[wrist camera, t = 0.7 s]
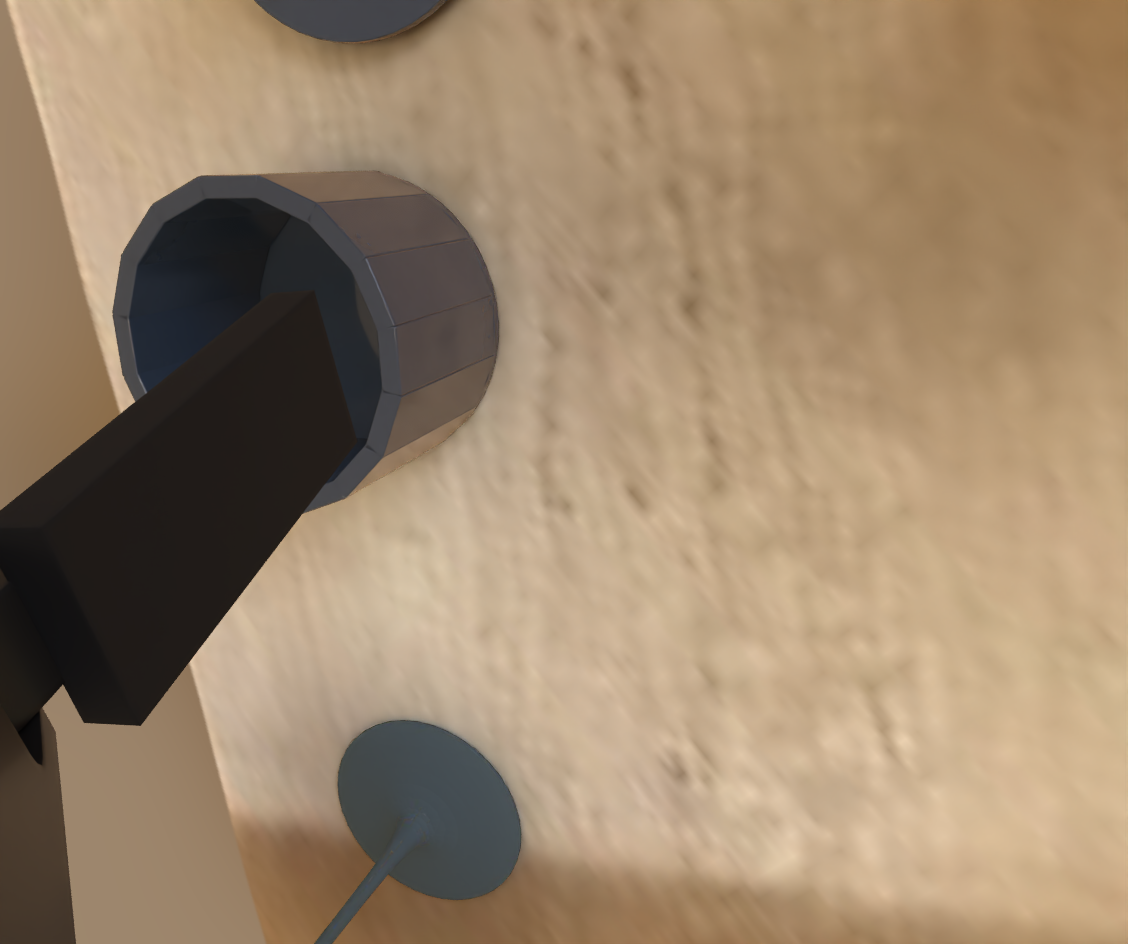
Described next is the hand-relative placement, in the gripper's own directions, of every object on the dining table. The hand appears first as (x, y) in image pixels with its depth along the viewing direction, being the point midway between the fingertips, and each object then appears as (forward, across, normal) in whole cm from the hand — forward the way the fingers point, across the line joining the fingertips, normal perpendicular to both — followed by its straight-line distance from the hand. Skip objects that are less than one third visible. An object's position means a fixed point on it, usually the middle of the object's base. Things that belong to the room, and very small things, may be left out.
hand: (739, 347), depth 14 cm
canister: (+24, -18, -8) cm, 31 cm away
